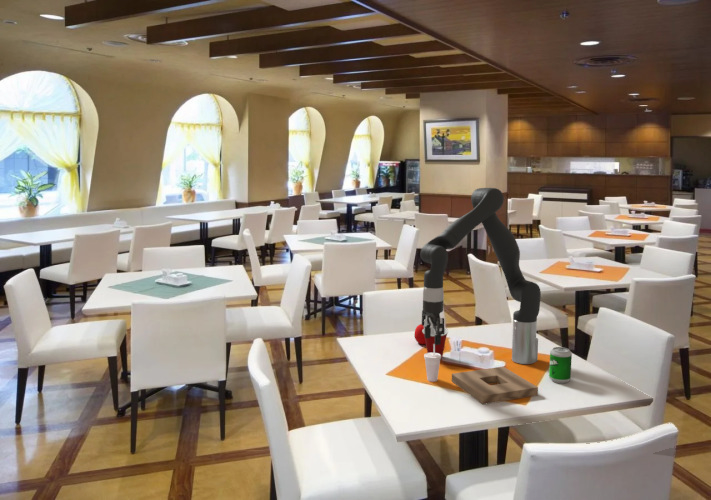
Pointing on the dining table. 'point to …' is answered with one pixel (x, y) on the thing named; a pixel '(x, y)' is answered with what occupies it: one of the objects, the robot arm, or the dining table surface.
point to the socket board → (504, 390)
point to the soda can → (560, 365)
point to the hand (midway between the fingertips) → (432, 341)
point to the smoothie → (432, 365)
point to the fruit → (420, 334)
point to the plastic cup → (431, 341)
